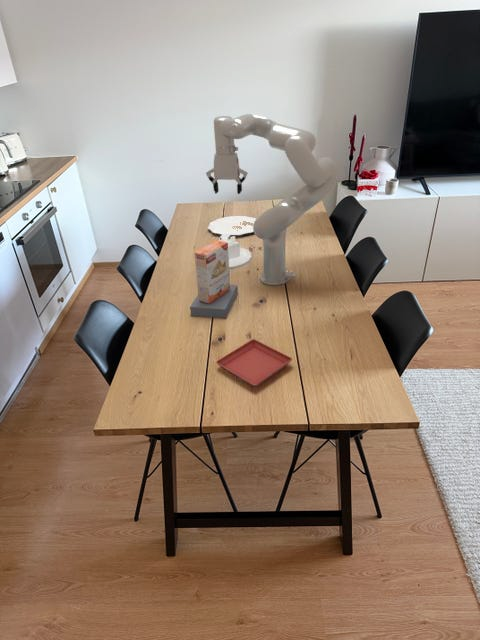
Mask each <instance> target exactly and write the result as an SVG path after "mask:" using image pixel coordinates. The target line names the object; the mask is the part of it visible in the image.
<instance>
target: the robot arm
mask: <svg viewBox="0 0 480 640" xmlns="http://www.w3.org/2000/svg"><path fill="white" fill-rule="evenodd" d="M213 132H214V143H215V144H214V145H215V153H214V155H213V156H214V157H213V168H212V169H209V170H208V171H206V172H205V174H206V176H207V178H208V180H209V181H210V182H211V183H212V184H213V192H214V194H218V193H219V182H218V180H219V181H220V180H222V181H223V180H225V181H226V180H227V181H232V180H233V181H235V182H236V183H237V184H236V189H237V190H236V191H237V192H236V193H237V195H240V194H241V192H243V186H242V183H243V182H244V181H246V178H247V176H248V175H249V173H248V172H247V171H246V170H244V169H242V168H240V162H239V157H238V152H236V151H239V147H238V146H236V145H235V140H241V139H244V138H246V137H248V136H250V135H251V136H256V137H259V138H263V139H266V140H267V141H268V144H269V147H270V148H273V149H275V150H276V149H277V150H280V151H284V153H285V155H286V157H287V158H288V161H289V163H290V164H291V166H292V167H293V169H294V170H295V172H296V173H297V175H298V176H299V178H300V180H301V181H302V182H303V183H304V185H302V187H300V188H299V189H298V190H297V191H295V192H293V193H292V194H290V195H289V196H286V197H285V198H283V199H282V200H280V201H279V202H278V203H277V204H275V205H274V206H273V207H271V208H270V207H269V208H268V209H267V210H266V211H264V212H263V213H262V214H261V215H259V216H258V217H257V218H256V220H255V222H254V225H253V231H254V232H253V233H254V234H255V236H256V237H257V238H258V239H261V240H262V265H263V266H262V268H263V270H262V272H263V273H262V274H260V276H259V280H260V282H261V283H263V284H264V285H268V286H280V285H284V284H287V282H288V281H290V279H291V278H292V279H296V273H295V272H294V271H291V270H290V271H289V270H288V267H286V241H287V240H286V239H287V238H286V235H287V234H286V233H287V229H288V228H289V227H290V226H292V225H293V224H294V223H296V222H297V220H299V219H300V218H301V217H302V216H303V215H304V214H305V213H306V212H308V211H309V210H311V209H312V208H313V207H314V206H316V205H318V204H319V203H320V202H322V201H323V200H324V199H325V198H326V197H327V196H328V195H329V194H330V193H331V191H332V190H333V189H334V187H335V185H336V182H337V177H338V169H337V164H336V162H335V160H333V158H331V157H329V156H322V157H319V158H317V159H316V157H315V155H314V154H313V151H314V150H315V147H316V145H317V140H316V139H317V138H316V137H315V135H314V133H312V132H310V131H308V130H305V129H302V128H301V129H300V128H296V127H293V126H288V125H285V124H281V123H277V122H276V121H274V120H272V119H271V118H268V117H264V116H261V115H257V114H251V113H248V114H242V115H239V116H237V117H234V118H233V117H231V116H229V115H220V116H217V117H215V118H214V119H213ZM212 174H213V176H212ZM240 175H242V176H241V177H240Z"/></svg>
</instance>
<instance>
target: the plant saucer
mask: <svg viewBox="0 0 480 640" xmlns="http://www.w3.org/2000/svg"><path fill="white" fill-rule="evenodd" d="M292 361H293V357H291V356H289V355H287V354H285V353H283V352H280V350H279V351H278V350H277V349H275V348H273V347H271V346H269V345H267V344H265V343H263V342H261V341H259V340H258V339H255V338H254V339H253V338H252V339H251V340H249V341H246V342H245V343H244V344H243V345H241V346H238V348H235V349H234V350H233V351H230V352H229V353H227V354H226V355H224V356H222V357H221V358H219V359H217V360H216V362H215V363H216V364H217V366H219V367H220V368H222V369H223V370H225V371H226V372H228V373H230V374H231V375H233V376H235V377H237V378H238V379H240V380H241V381H243V382H245V383H246V384H248V385H250V386H252V387H254V388H257V387H258V386H260V385H261V384H262V383H263V382H265V381H266V380H268V379H269V378H271V377H272V376H274V375H275V374H276V373H278V372H279V371H281V370H282V369H284V368H285V367H286V366H288V365H289V363H291V362H292Z"/></svg>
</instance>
